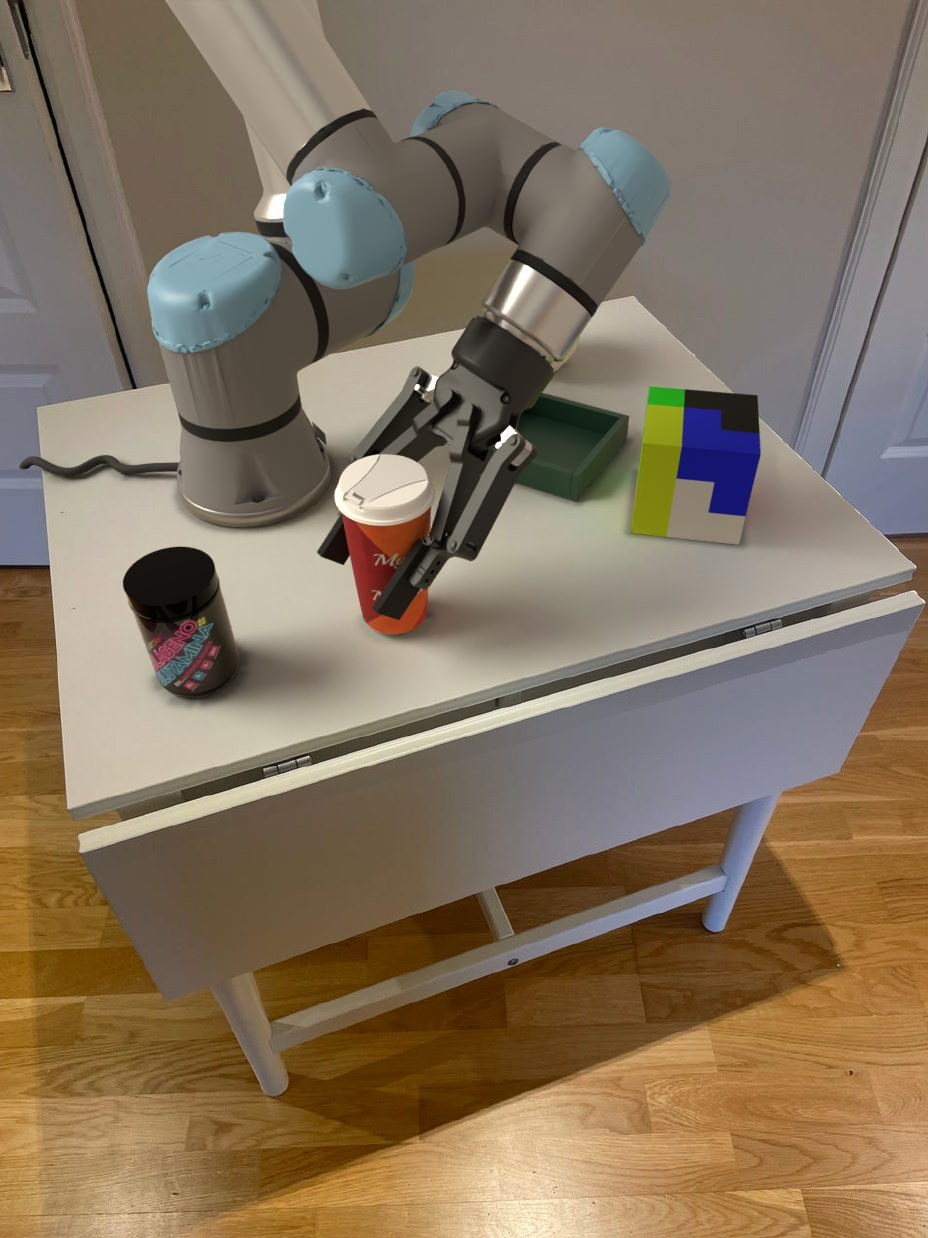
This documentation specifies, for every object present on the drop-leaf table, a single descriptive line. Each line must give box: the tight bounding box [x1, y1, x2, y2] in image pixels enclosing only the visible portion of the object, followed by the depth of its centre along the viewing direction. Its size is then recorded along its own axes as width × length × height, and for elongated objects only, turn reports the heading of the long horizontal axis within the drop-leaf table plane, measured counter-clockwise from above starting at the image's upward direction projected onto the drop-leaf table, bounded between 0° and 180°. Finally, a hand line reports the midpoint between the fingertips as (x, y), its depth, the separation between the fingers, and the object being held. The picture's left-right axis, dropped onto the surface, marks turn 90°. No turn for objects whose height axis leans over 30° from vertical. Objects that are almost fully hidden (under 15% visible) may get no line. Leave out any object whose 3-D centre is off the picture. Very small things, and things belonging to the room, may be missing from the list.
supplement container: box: [122, 546, 241, 698], centre depth 71 cm, size 7×7×10 cm
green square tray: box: [473, 392, 630, 503], centre depth 95 cm, size 13×13×3 cm
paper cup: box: [334, 454, 436, 635], centre depth 73 cm, size 8×8×14 cm
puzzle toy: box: [630, 385, 762, 546], centre depth 86 cm, size 10×10×10 cm
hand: (357, 585), depth 73 cm, fingers closed on paper cup, 8 cm apart
